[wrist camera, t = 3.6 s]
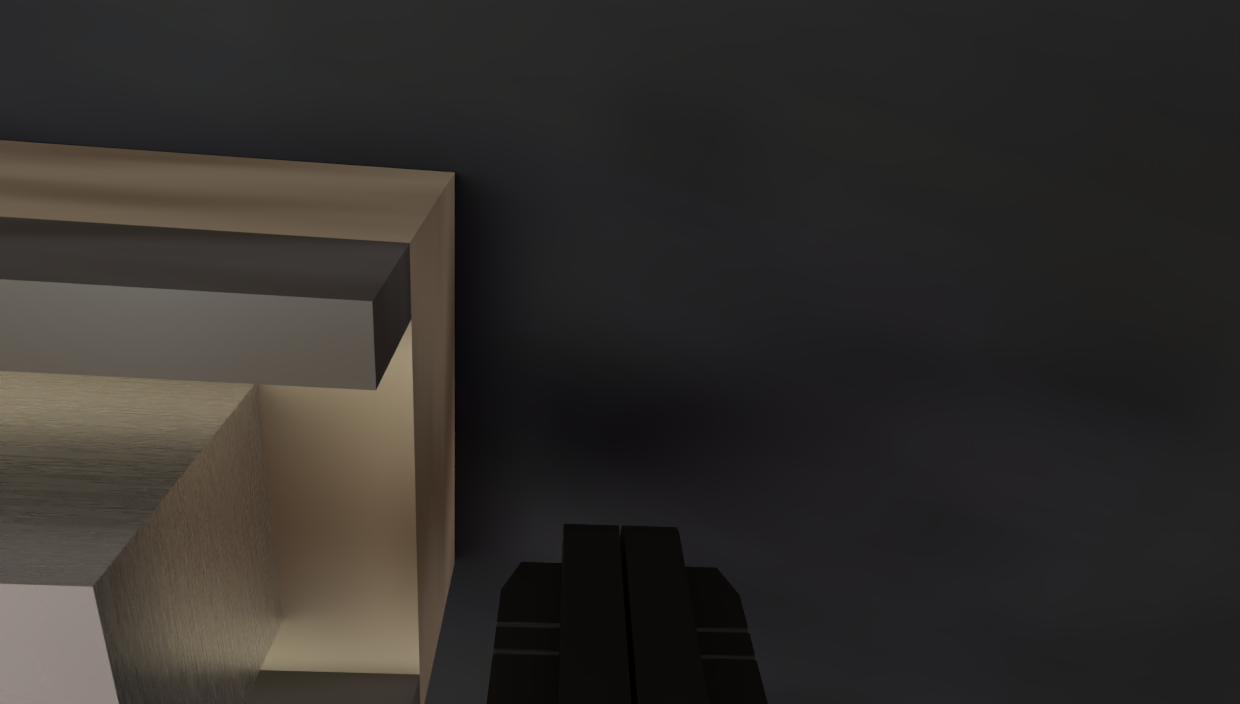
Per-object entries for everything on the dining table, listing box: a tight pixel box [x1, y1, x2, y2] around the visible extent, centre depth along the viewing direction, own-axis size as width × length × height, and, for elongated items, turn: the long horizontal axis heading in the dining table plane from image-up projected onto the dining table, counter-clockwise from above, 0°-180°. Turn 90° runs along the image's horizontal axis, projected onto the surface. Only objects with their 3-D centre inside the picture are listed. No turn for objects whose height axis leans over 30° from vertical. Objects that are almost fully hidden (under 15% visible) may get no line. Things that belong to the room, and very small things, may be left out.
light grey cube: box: [0, 371, 283, 704], centre depth 10 cm, size 4×4×4 cm
